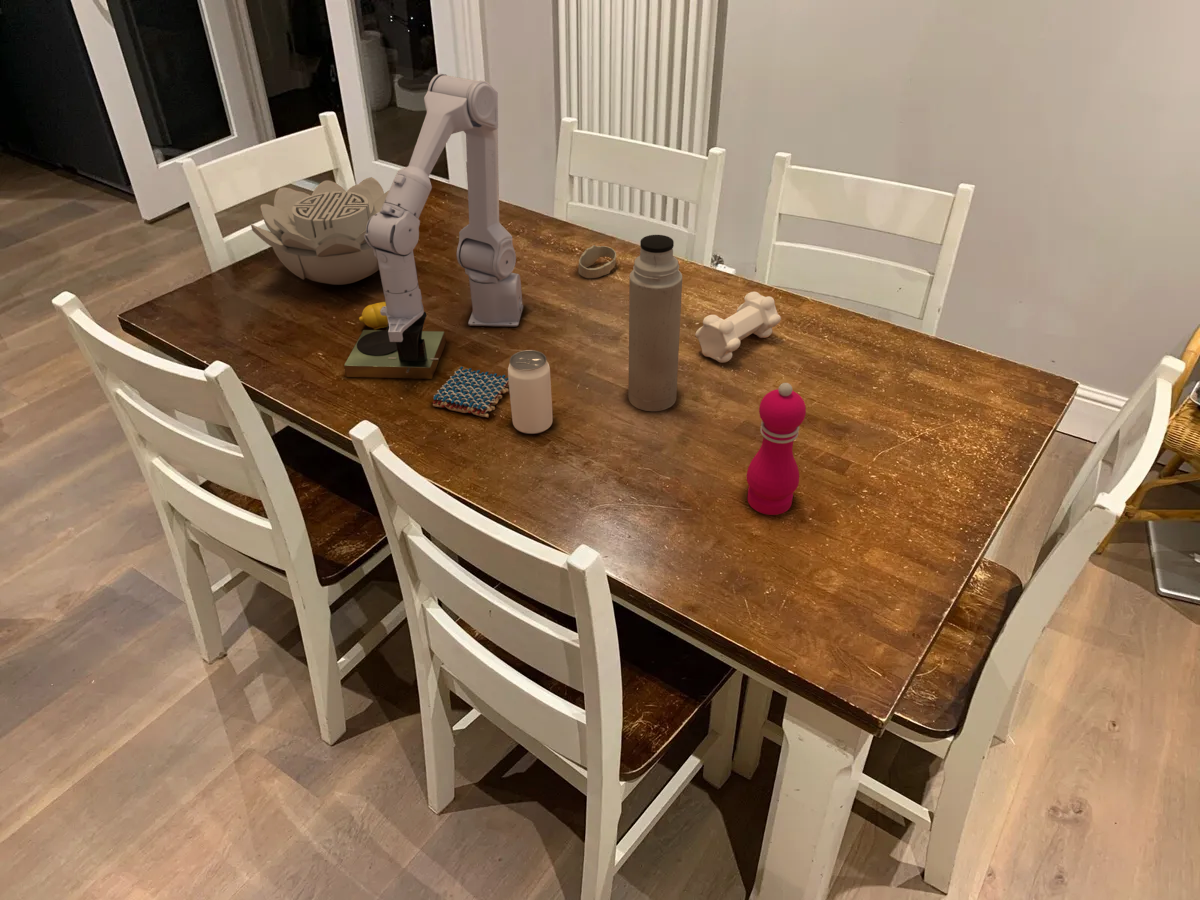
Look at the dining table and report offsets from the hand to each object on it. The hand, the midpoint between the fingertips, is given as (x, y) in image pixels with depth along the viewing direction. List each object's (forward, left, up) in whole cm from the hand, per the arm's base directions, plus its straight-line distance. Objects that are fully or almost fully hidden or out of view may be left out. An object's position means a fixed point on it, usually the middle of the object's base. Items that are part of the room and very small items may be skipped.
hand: (412, 356), depth 149 cm
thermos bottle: (-41, +7, -3) cm, 42 cm away
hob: (+4, -3, -3) cm, 5 cm away
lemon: (+10, -15, -3) cm, 19 cm away
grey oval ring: (-29, -39, -3) cm, 49 cm away
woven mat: (-11, +8, -3) cm, 14 cm away
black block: (0, 0, 0) cm, 0 cm away
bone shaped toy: (-56, -10, -3) cm, 58 cm away
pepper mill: (-58, +32, -3) cm, 67 cm away
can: (-22, +15, -3) cm, 27 cm away
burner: (+7, -5, 0) cm, 9 cm away
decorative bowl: (+23, -36, -3) cm, 43 cm away
